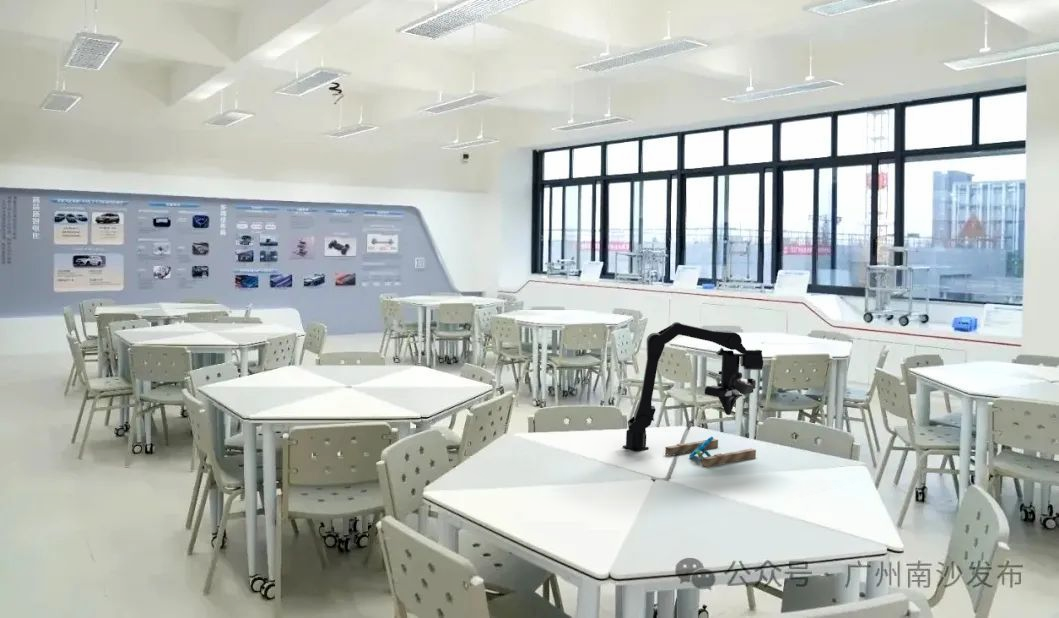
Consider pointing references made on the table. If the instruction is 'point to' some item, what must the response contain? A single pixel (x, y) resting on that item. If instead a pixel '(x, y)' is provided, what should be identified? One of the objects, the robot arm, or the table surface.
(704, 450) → the gear
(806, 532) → the table surface
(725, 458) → the guide channel
